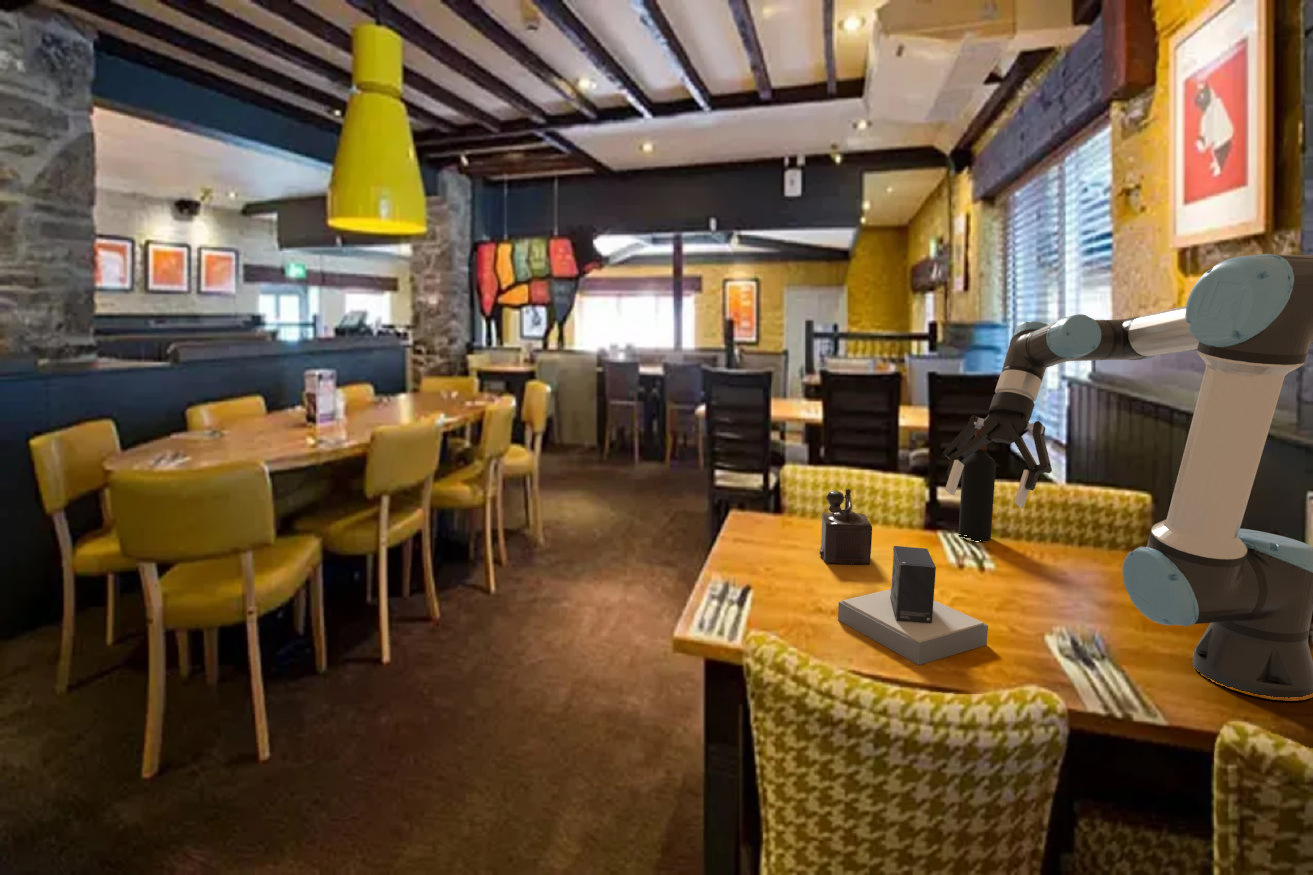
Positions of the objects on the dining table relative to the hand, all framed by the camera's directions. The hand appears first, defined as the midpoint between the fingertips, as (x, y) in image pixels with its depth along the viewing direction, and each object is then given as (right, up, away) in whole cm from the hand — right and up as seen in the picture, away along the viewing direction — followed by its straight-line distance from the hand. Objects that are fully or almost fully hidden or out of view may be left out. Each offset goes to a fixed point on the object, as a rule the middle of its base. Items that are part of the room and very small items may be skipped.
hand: (982, 498), depth 140 cm
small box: (-16, -20, -8) cm, 27 cm away
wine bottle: (+18, -14, +46) cm, 51 cm away
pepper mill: (-19, -17, +30) cm, 39 cm away
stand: (-17, -23, -7) cm, 30 cm away
